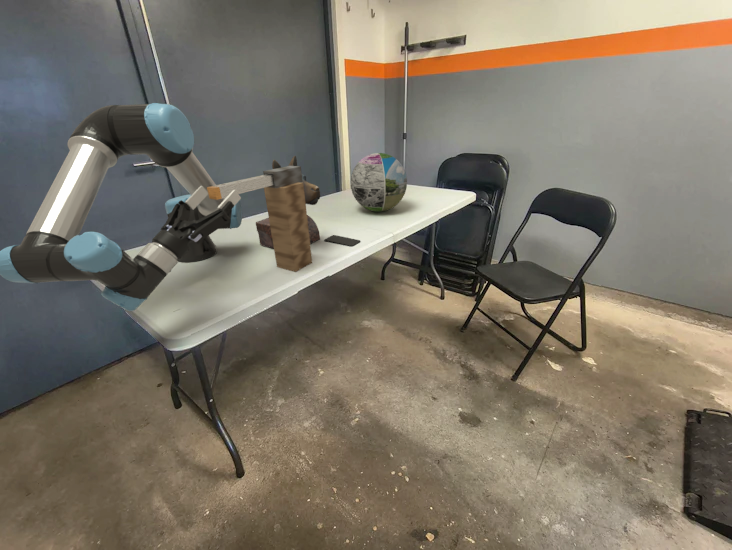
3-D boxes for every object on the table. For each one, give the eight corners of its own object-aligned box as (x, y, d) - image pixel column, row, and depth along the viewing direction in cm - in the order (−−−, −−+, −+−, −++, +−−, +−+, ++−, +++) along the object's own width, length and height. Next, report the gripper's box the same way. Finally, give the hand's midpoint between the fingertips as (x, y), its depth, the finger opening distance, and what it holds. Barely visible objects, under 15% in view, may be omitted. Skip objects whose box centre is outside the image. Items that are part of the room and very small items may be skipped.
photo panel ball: (397, 220, 164) (398, 157, 150) (343, 216, 174) (339, 156, 160) (412, 205, 189) (414, 150, 175) (363, 202, 199) (361, 149, 185)
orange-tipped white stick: (216, 199, 86) (213, 188, 85) (209, 198, 87) (206, 187, 86) (279, 183, 103) (278, 173, 102) (273, 182, 105) (271, 173, 103)
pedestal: (293, 273, 114) (279, 172, 98) (275, 267, 118) (258, 170, 103) (315, 260, 123) (305, 166, 107) (297, 256, 127) (285, 165, 112)
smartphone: (352, 246, 134) (323, 239, 141) (352, 248, 134) (323, 241, 141) (361, 240, 139) (333, 234, 146) (361, 242, 140) (333, 236, 147)
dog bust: (309, 259, 124) (297, 162, 109) (259, 245, 138) (242, 158, 122) (338, 243, 138) (332, 155, 122) (290, 232, 152) (279, 153, 136)
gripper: (149, 252, 87) (201, 197, 97) (207, 271, 76) (260, 207, 85) (125, 233, 82) (183, 177, 91) (184, 250, 70) (243, 184, 79)
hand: (220, 191), depth 88 cm, fingers open, 13 cm apart
